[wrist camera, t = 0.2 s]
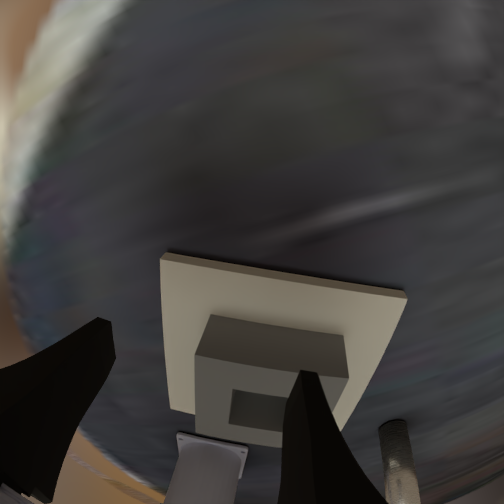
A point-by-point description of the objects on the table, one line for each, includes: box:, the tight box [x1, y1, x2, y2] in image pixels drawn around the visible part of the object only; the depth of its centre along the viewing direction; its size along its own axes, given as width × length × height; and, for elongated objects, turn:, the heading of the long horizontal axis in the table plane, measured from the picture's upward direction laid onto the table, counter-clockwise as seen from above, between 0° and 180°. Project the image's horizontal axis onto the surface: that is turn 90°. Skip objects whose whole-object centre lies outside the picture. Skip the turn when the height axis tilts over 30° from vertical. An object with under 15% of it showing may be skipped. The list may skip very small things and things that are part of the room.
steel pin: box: [378, 421, 420, 504], centre depth 22 cm, size 3×3×10 cm
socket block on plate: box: [160, 252, 408, 448], centre depth 21 cm, size 16×16×5 cm
